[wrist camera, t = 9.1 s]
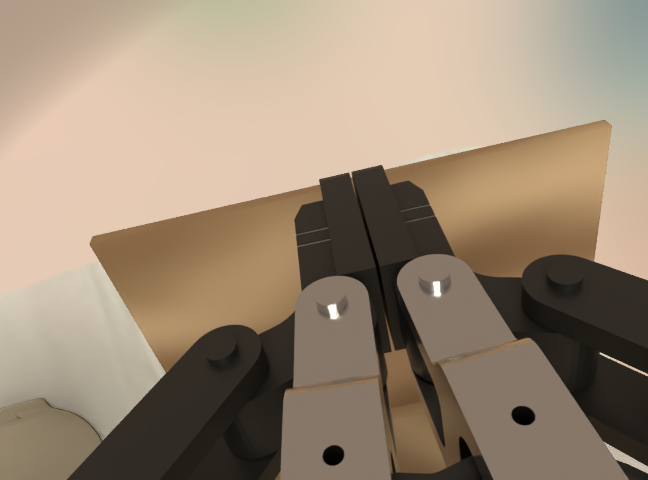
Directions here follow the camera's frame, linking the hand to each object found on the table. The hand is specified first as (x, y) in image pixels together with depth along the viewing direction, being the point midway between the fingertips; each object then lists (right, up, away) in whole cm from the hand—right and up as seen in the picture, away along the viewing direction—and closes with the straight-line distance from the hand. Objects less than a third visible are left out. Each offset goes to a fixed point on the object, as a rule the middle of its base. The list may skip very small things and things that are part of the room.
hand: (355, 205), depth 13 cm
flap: (+1, -4, +11) cm, 12 cm away
